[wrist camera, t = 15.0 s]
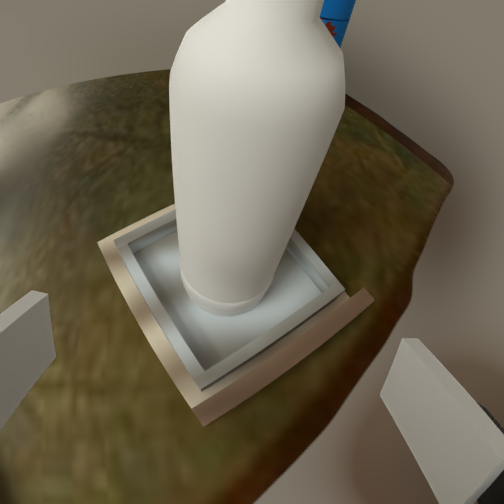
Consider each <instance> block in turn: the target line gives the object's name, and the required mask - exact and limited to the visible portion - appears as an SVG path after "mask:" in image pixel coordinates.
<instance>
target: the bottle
mask: <svg viewBox="0 0 504 504" xmlns="http://www.w3.org/2000/svg"><path fill="white" fill-rule="evenodd" d="M323 3H324V0H226V2H224V3H223V4H221V5H220V6H219V7H217V8H216V9H214V10H213V11H212V12H210V13H209V14H208V15H206V16H205V17H203V18H202V19H201V20H200V21H198V22H197V23H196V24H194V25H193V26H192V27H191V28H190V29H189V30H188V31H187V32H186V34H185V36H184V38H183V40H182V43H181V45H180V47H179V49H178V52H177V54H176V57H175V59H174V62H173V65H172V68H171V71H170V81H169V102H170V131H171V151H172V169H173V183H174V197H175V209H176V221H177V231H178V242H179V251H180V271H181V279H182V281H183V286H184V288H185V290H186V292H187V294H188V296H189V298H190V299H191V300H192V301H193V302H194V303H195V304H196V305H197V306H198V307H199V308H200V309H202V310H204V311H206V312H209V313H211V314H213V315H216V316H231V317H232V316H235V315H239V314H242V313H246V312H248V311H249V310H250V309H252V308H253V307H255V306H256V305H257V304H259V302H260V300H261V299H262V297H263V296H264V294H265V293H266V291H267V289H268V288H269V286H270V285H271V283H272V280H273V277H274V273H275V271H276V268H277V266H278V264H279V262H280V259H281V257H282V255H283V253H284V250H285V248H286V246H287V244H288V241H289V239H290V237H291V235H292V232H293V230H294V228H295V225H296V223H297V221H298V219H299V216H300V214H301V212H302V209H303V207H304V205H305V202H306V200H307V198H308V195H309V193H310V191H311V188H312V186H313V184H314V181H315V179H316V176H317V174H318V172H319V169H320V167H321V165H322V162H323V160H324V157H325V155H326V153H327V150H328V148H329V145H330V143H331V141H332V138H333V136H334V133H335V131H336V128H337V126H338V124H339V121H340V119H341V116H342V114H343V111H344V109H345V71H344V70H345V69H344V59H343V52H342V51H341V49H340V48H339V46H338V44H337V43H336V41H335V40H334V38H333V37H332V35H331V34H330V32H329V31H328V29H327V28H326V26H325V25H324V23H323V22H322V20H321V19H320V13H321V10H322V6H323Z"/></svg>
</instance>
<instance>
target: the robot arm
mask: <svg viewBox="0 0 504 504" xmlns="http://www.w3.org/2000/svg"><path fill="white" fill-rule="evenodd" d="M55 358H56V353H55V347H54V340H53V334H52V326H51V318H50V310H49V300H48V294H46V293H42V292H37V291H33V290H32V291H30V292H29V293H28V294H26V295H25V296H23V297H22V298H21V299H19V300H18V301H17V302H15V303H14V304H13V305H11V306H10V307H9V308H7V309H6V310H5V311H3V312H2V313H1V314H0V430H1V429H2V427H3V426H4V424H5V423H6V422H7V420H8V419H9V417H10V416H11V415H12V413H13V412H14V411H15V409H16V408H17V407H18V405H19V404H20V403H21V401H22V400H23V399H24V397H25V396H26V395H27V393H28V392H29V391H30V389H31V388H32V387H33V385H34V384H35V383H36V382H37V380H38V379H39V378H40V377H41V375H42V374H43V373H44V371H45V370H46V369H47V368H48V366H49V365H50V364H51V363H52V361H53V360H54V359H55ZM380 397H381V398H382V400H383V402H384V404H385V405H386V407H387V409H388V411H389V412H390V414H391V416H392V418H393V419H394V421H395V423H396V425H397V427H398V428H399V430H400V432H401V433H402V436H403V437H404V439H405V441H406V443H407V445H408V446H409V448H410V450H411V452H412V453H413V455H414V457H415V459H416V461H417V462H418V464H419V466H420V468H421V470H422V472H423V474H424V476H425V478H426V479H427V481H428V483H429V485H430V487H431V489H432V491H433V493H434V495H435V497H436V498H437V500H438V502H439V504H474V503H475V502H476V501H477V502H478V504H504V429H503V428H502V427H500V424H499V423H498V422H497V421H496V420H494V418H493V416H492V415H491V414H490V413H489V412H488V410H487V409H486V408H484V407H483V406H481V405H480V404H479V403H477V402H476V401H475V400H474V399H473V398H472V397H471V396H470V395H469V394H468V392H467V391H466V390H465V389H464V388H463V387H462V386H461V385H460V383H459V382H458V381H457V380H456V379H455V378H454V377H453V376H452V375H451V373H450V372H449V371H448V370H447V369H446V368H445V367H444V366H443V365H442V364H441V362H440V361H439V360H438V359H437V358H436V357H435V356H434V355H433V354H432V353H431V352H430V351H429V350H428V349H427V348H426V346H425V345H424V344H423V343H422V342H421V341H420V340H419V339H418V338H402V340H401V342H400V346H399V348H398V350H397V353H396V356H395V358H394V361H393V364H392V366H391V368H390V371H389V373H388V376H387V378H386V380H385V383H384V385H383V388H382V390H381V392H380Z"/></svg>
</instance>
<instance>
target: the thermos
mask: <svg viewBox="0 0 504 504" xmlns="http://www.w3.org/2000/svg"><path fill="white" fill-rule="evenodd" d="M355 1H356V0H324V3H323V6H322V10H321V13H320V19H321V20H322V22H323V23H324V25H325V26H326V28H327V29H328V31H329V32H330V34H331V35H332V37H333V38H334V40H335V41H336V43H337V44H338V46H339V48H340V47H341V43H342V41H343V38H344V34H345V31H346V29H347V26H348V23H349V20H350V16H351V13H352V10H353V7H354V4H355Z"/></svg>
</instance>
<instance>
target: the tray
mask: <svg viewBox="0 0 504 504" xmlns="http://www.w3.org/2000/svg"><path fill="white" fill-rule="evenodd" d="M97 243H98V245H99V248H100V250H101V252H102V254H103V256H104V258H105V260H106V262H107V265H108V267H109V269H110V271H111V273H112V275H113V277H114V279H115V281H116V283H117V285H118V287H119V289H120V291H121V292H122V294H123V296H124V298H125V300H126V302H127V304H128V306H129V308H130V309H131V311H132V313H133V315H134V317H135V319H136V320H137V322H138V324H139V326H140V327H141V329H142V331H143V333H144V334H145V336H146V338H147V340H148V341H149V343H150V345H151V346H152V348H153V350H154V351H155V353H156V355H157V356H158V358H159V360H160V361H161V363H162V365H163V366H164V368H165V369H166V371H167V372H168V374H169V376H170V377H171V379H172V380H173V382H174V383H175V385H176V386H177V388H178V390H179V391H180V393H181V394H182V396H183V397H184V399H185V400H186V401H187V403H188V404H189V406H190V407H191V410H192V411H193V413H194V414H195V416H196V417H197V418H198V420H199V421H200V423H201V424H202V425H203V427H204V426H205V425H207V424H209V423H210V422H212V421H214V420H215V419H217V418H218V417H220V416H222V415H223V414H225V413H226V412H228V411H229V410H231V409H232V408H234V407H235V406H237V405H239V404H240V403H242V402H243V401H245V400H246V399H248V398H249V397H250V396H252V395H253V394H255V393H256V392H258V391H259V390H261V389H262V388H264V387H265V386H266V385H268V384H269V383H271V382H272V381H274V380H275V379H276V378H278V377H279V376H281V375H282V374H283V373H285V372H286V371H287V370H289V369H290V368H292V367H293V366H294V365H296V364H297V363H298V362H300V361H301V360H302V359H304V358H305V357H306V356H307V355H309V354H310V353H311V352H313V351H314V350H315V349H317V348H318V347H319V346H320V345H322V344H323V343H324V342H325V341H327V340H328V339H329V338H331V337H332V336H333V335H334V334H335V333H337V332H338V331H339V330H340V329H342V328H343V327H344V326H345V325H346V324H348V323H349V322H350V321H351V320H352V319H354V318H355V317H356V316H357V315H358V314H360V313H361V312H362V311H363V310H364V309H365V308H367V307H368V306H369V305H370V304H371V303H372V302H373V301H375V300H374V298H373V297H372V296H371V295H370V293H369V292H368V291H367V290H366V288H365V287H363V288H362V289H361V290H359V291H358V292H357V293H356V294H354V295H353V296H352V297H351V298H350V297H349V296H348V295H347V293H346V292H345V291H344V290H345V288H344V287H343V286H342V285H341V284H340V282H339V281H338V280H337V279H336V277H335V276H334V275H333V274H332V273H331V271H330V270H329V269H328V268H327V267H326V265H325V264H324V263H323V262H322V261H321V259H320V258H319V257H318V256H317V255H316V253H315V252H314V251H313V250H312V249H311V247H310V246H309V245H308V244H307V243H306V242H305V240H304V239H303V238H302V237H301V236H300V234H299V233H298V232H297V231H296V230H295V229H294V230H293V232H292V235H291V237H290V239H289V241H288V244H287V246H286V248H285V250H284V253H283V255H282V257H281V259H280V262H279V264H278V266H277V268H276V271H275V273H274V277H273V280H272V283H271V285H270V286H269V288H268V289H267V291H266V293H265V294H264V296H263V297H262V299H261V300H260V302H259V304H257V305H256V306H255V307H253V308H252V309H250V310H249V311H248V312H246V313H242V314H239V315H235V316H232V317H231V316H216V315H213V314H211V313H209V312H206V311H204V310H202V309H200V308H199V307H198V306H197V305H196V304H195V303H194V302H193V301H192V300H191V299H190V298H189V296H188V294H187V292H186V290H185V288H184V286H183V281H182V279H181V271H180V251H179V242H178V231H177V221H176V209H175V204H173V205H171V206H169V207H167V208H165V209H162V210H160V211H158V212H156V213H154V214H152V215H150V216H148V217H146V218H144V219H142V220H140V221H138V222H136V223H134V224H132V225H130V226H128V227H126V228H124V229H122V230H120V231H118V232H116V233H114V234H112V235H110V236H108V237H106V238H105V239H103V240H101V241H99V242H97Z"/></svg>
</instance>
